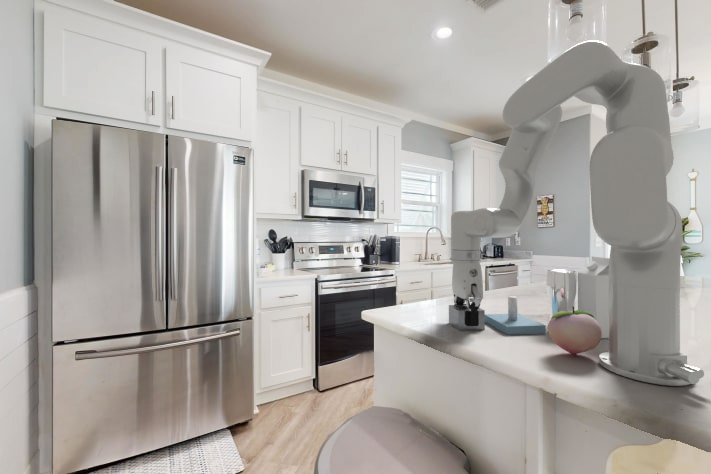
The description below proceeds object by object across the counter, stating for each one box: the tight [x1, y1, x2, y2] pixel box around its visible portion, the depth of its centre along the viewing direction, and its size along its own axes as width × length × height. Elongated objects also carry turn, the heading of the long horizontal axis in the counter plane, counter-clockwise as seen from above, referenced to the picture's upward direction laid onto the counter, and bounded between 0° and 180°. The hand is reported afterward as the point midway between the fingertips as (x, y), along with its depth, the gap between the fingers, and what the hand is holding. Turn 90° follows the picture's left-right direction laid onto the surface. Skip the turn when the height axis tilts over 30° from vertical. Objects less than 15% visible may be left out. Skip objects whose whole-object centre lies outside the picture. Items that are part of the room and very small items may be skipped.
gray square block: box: [448, 304, 486, 331], centre depth 86 cm, size 7×7×5 cm
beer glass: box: [546, 269, 578, 322], centre depth 84 cm, size 7×7×15 cm
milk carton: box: [577, 256, 610, 339], centre depth 78 cm, size 7×7×19 cm
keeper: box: [485, 296, 547, 335], centre depth 84 cm, size 12×10×8 cm
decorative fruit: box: [547, 306, 602, 356], centre depth 64 cm, size 9×8×10 cm
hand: (466, 321), depth 86 cm, fingers closed on gray square block, 7 cm apart
